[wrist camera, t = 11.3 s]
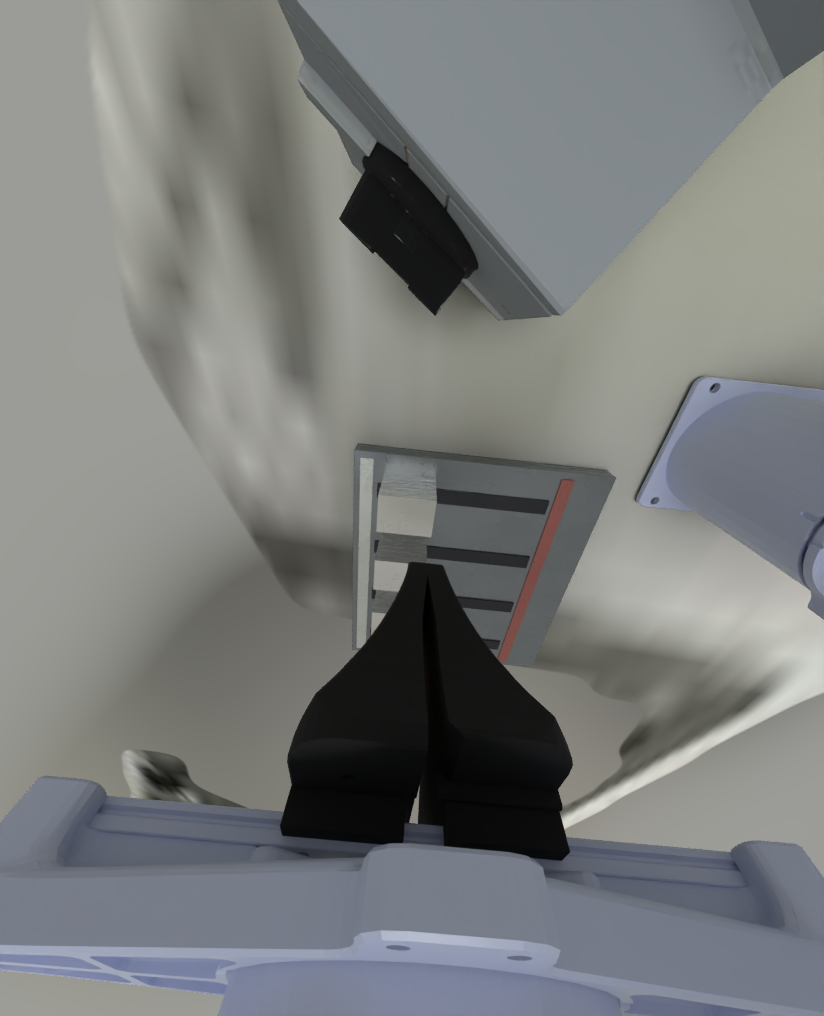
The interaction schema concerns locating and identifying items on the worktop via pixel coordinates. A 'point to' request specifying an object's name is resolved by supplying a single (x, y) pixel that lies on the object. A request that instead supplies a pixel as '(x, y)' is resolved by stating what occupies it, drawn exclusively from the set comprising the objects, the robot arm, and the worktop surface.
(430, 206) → the circuit breaker
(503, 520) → the breaker panel
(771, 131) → the worktop surface
